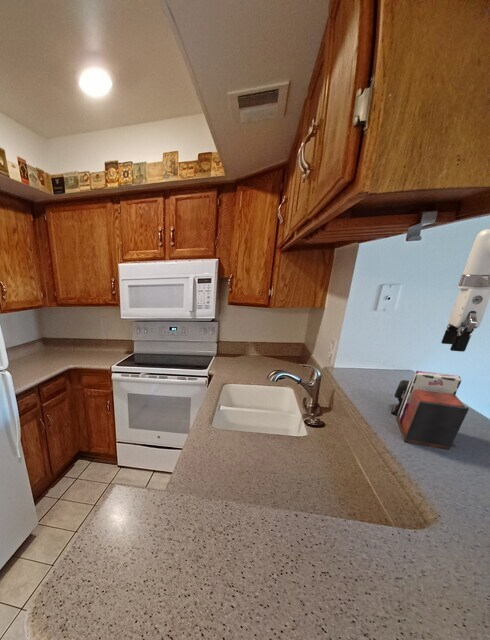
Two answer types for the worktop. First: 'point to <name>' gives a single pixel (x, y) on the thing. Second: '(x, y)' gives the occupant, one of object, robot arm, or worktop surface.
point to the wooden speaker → (432, 419)
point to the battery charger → (401, 396)
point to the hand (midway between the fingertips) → (452, 347)
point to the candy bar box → (431, 385)
